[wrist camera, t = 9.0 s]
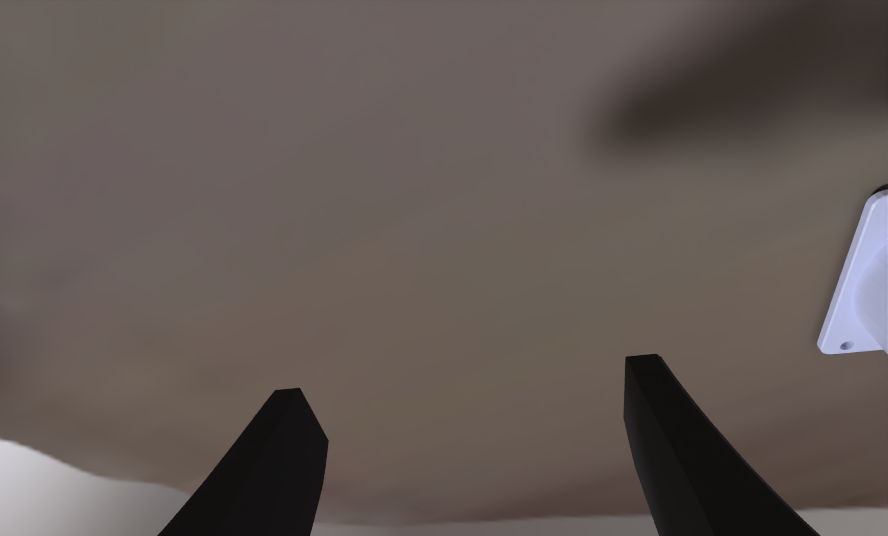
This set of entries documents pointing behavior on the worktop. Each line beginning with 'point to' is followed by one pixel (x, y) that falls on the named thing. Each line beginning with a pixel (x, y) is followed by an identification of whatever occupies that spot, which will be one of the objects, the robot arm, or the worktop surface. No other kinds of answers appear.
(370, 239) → the worktop surface
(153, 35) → the worktop surface
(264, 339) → the worktop surface
